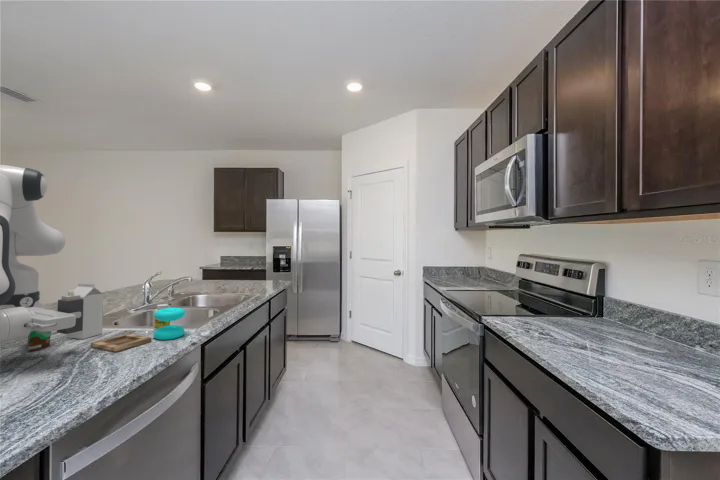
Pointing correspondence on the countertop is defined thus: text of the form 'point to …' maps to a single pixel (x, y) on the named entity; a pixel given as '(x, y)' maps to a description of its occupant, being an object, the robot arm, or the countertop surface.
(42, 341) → the food container
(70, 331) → the plug
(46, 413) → the countertop surface
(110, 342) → the wooden tray
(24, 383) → the countertop surface
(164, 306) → the supplement bottle
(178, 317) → the donuts
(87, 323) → the milk carton
